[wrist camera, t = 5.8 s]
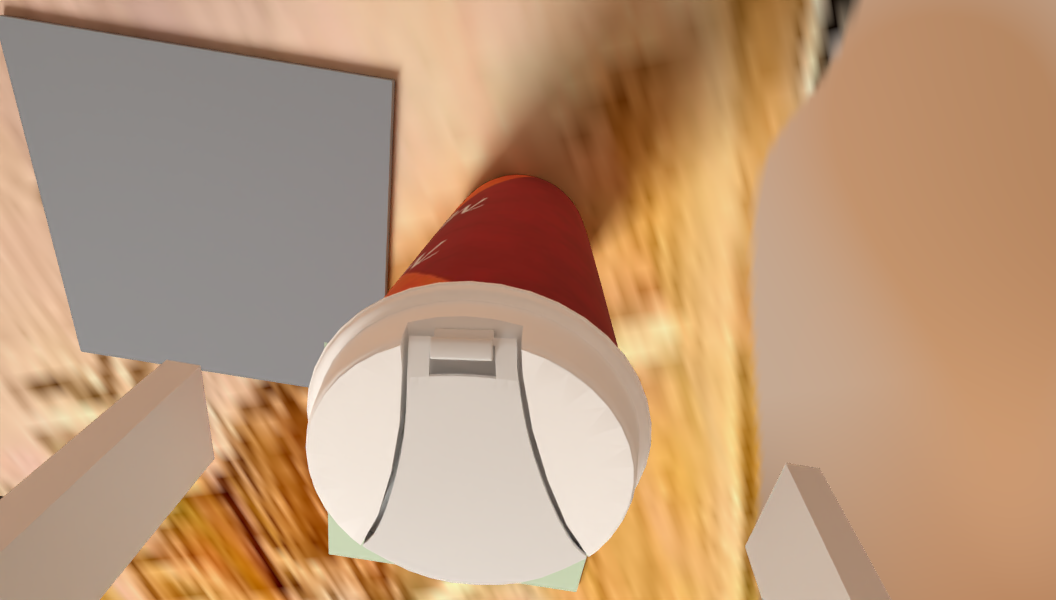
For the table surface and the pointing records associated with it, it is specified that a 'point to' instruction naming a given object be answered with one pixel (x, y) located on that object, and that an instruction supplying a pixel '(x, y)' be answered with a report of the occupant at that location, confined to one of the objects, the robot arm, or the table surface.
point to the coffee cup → (483, 400)
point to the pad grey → (205, 195)
